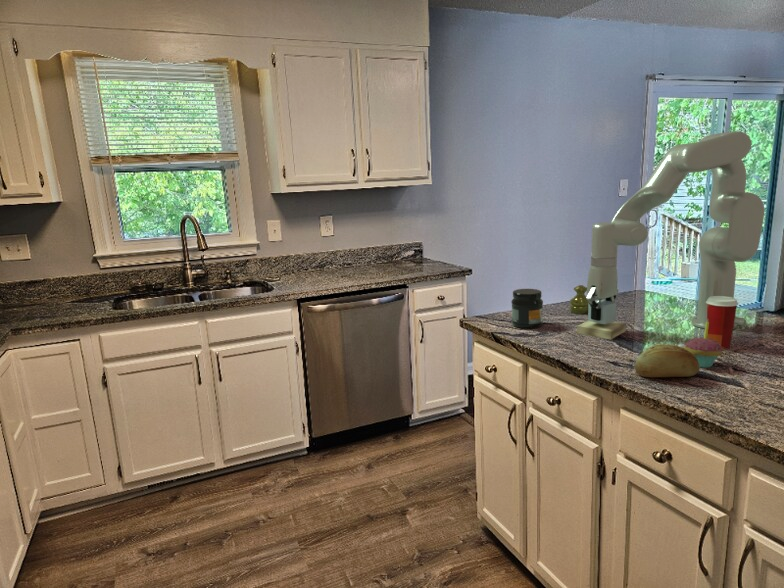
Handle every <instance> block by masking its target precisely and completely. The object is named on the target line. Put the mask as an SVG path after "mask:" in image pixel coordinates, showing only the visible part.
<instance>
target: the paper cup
mask: <svg viewBox="0 0 784 588" xmlns="http://www.w3.org/2000/svg"><path fill="white" fill-rule="evenodd" d="M706 303H707V320H708V322H709V326H708V334H707V338H708V339H711V340H714V341H716V342H718V343H719V344H720V345H721V347H722V350H728V349H730V347H731V342H732V339H733V338H732V337H733V331H734V329H733V327H734V320H735V313H736V312H737V306H738V305H739V303H738V300H737V299H736V298H735V297H734V298H732V297H726V296H711V297H709V298H708V299H707V301H706ZM736 314H737V313H736Z"/></svg>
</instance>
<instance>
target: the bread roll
mask: <svg viewBox="0 0 784 588" xmlns="http://www.w3.org/2000/svg"><path fill="white" fill-rule="evenodd" d="M634 370H635V373H636V374H637V375H638V376H641V377H644V378H673V377H674V378H676V377H681V378H682V377H683V378H685V377H692V376H693V377H694V376H695V375H697V374H698V372H699V371H700V367H699V363H698V360H697V359H696V357H695V356H694V355H693V354H692V353H691V352H689V351H688V350H686V349H684V347H682V346H678V345H675V344H664V343H663V344H655V345H651V346H649V347H648V348H645V350H643V351H642V352H641V353H640V355H639V356H638V358H637V359H636V361H635V363H634Z"/></svg>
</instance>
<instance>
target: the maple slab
mask: <svg viewBox="0 0 784 588" xmlns="http://www.w3.org/2000/svg"><path fill="white" fill-rule="evenodd" d="M626 327H627V323H625V322H624V323H623V322H620V321H619V322H618V321H613V322H611V323H608V324H600V323H596V322H591V321H588V320H585V322H582V323H580V324H578V325H577V326H576V333H577V334H578V335H583V336H588V337H594V338H599V339H605V340H613V339H615V338H616V337H618V336H620V335H621V334H623V333H625V332H626Z"/></svg>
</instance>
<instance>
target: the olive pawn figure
mask: <svg viewBox="0 0 784 588" xmlns="http://www.w3.org/2000/svg"><path fill="white" fill-rule="evenodd" d="M573 291H574V292H576V295H575V296H573V298H570V300H569V303H570V305H569V311H570V313H572V314H577V315H584V314H585V315H586V314H587V315H588V303H589V302H588V301H587V300H586V298H587V295H586V294H585V293H587V286H584V285H582V284H579V285H577V286H575V287H573Z"/></svg>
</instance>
